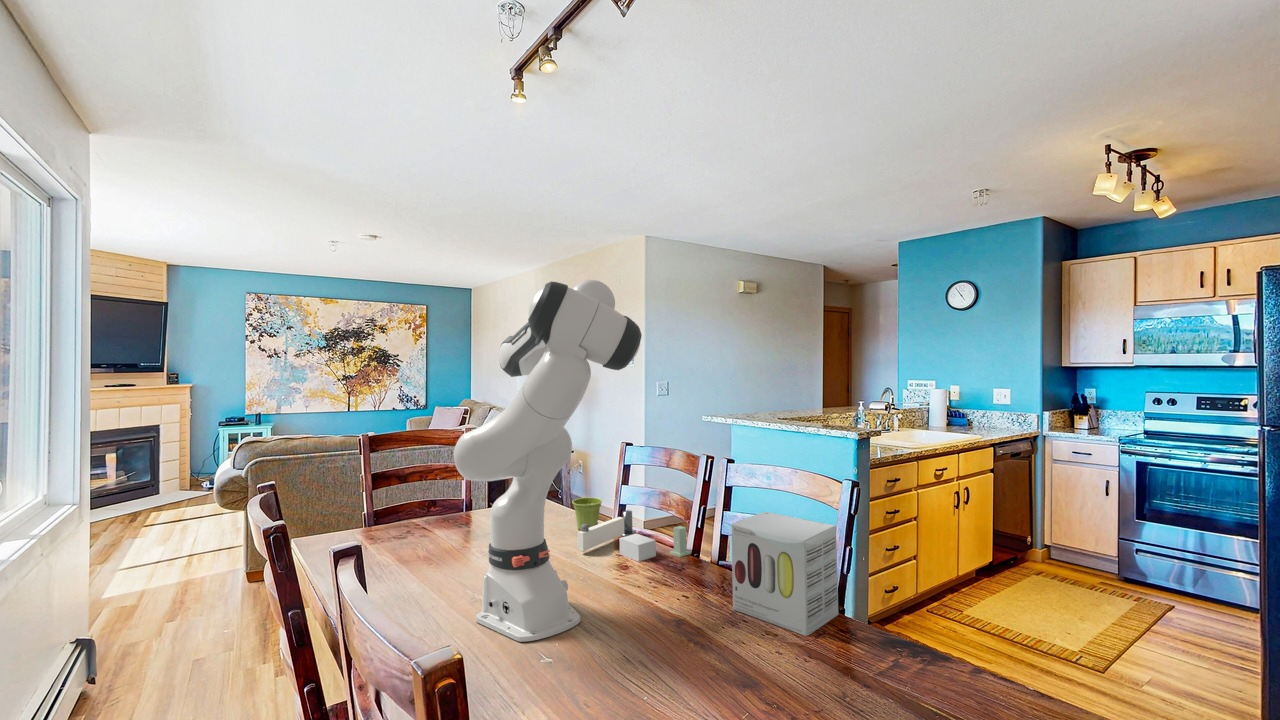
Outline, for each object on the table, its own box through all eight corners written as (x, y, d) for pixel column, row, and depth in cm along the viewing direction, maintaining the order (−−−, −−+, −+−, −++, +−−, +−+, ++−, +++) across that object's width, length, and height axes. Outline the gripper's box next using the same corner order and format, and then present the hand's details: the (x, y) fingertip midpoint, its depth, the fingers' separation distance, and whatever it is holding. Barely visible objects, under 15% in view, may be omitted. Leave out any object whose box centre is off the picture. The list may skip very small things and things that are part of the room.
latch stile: (692, 553, 156) (691, 527, 156) (679, 557, 153) (679, 530, 153) (678, 548, 160) (677, 523, 160) (666, 552, 158) (665, 526, 158)
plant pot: (605, 524, 186) (604, 497, 186) (600, 533, 177) (599, 504, 177) (576, 524, 187) (575, 497, 187) (569, 533, 178) (569, 504, 178)
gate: (618, 533, 172) (618, 511, 172) (624, 534, 171) (623, 512, 171) (577, 549, 158) (577, 526, 158) (583, 551, 156) (582, 527, 156)
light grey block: (656, 557, 155) (655, 540, 155) (638, 562, 151) (638, 544, 151) (636, 549, 161) (636, 533, 161) (619, 554, 157) (619, 538, 157)
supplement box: (730, 611, 120) (728, 523, 120) (766, 592, 129) (764, 510, 129) (807, 638, 108) (805, 540, 108) (840, 614, 117) (838, 524, 117)
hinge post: (638, 535, 174) (637, 511, 174) (626, 538, 171) (626, 514, 171) (629, 532, 177) (628, 509, 177) (617, 535, 174) (617, 511, 174)
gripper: (548, 387, 145) (549, 443, 145) (561, 384, 165) (563, 432, 165) (522, 388, 145) (524, 443, 145) (539, 384, 166) (541, 433, 166)
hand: (545, 437), depth 155 cm, fingers open, 8 cm apart
